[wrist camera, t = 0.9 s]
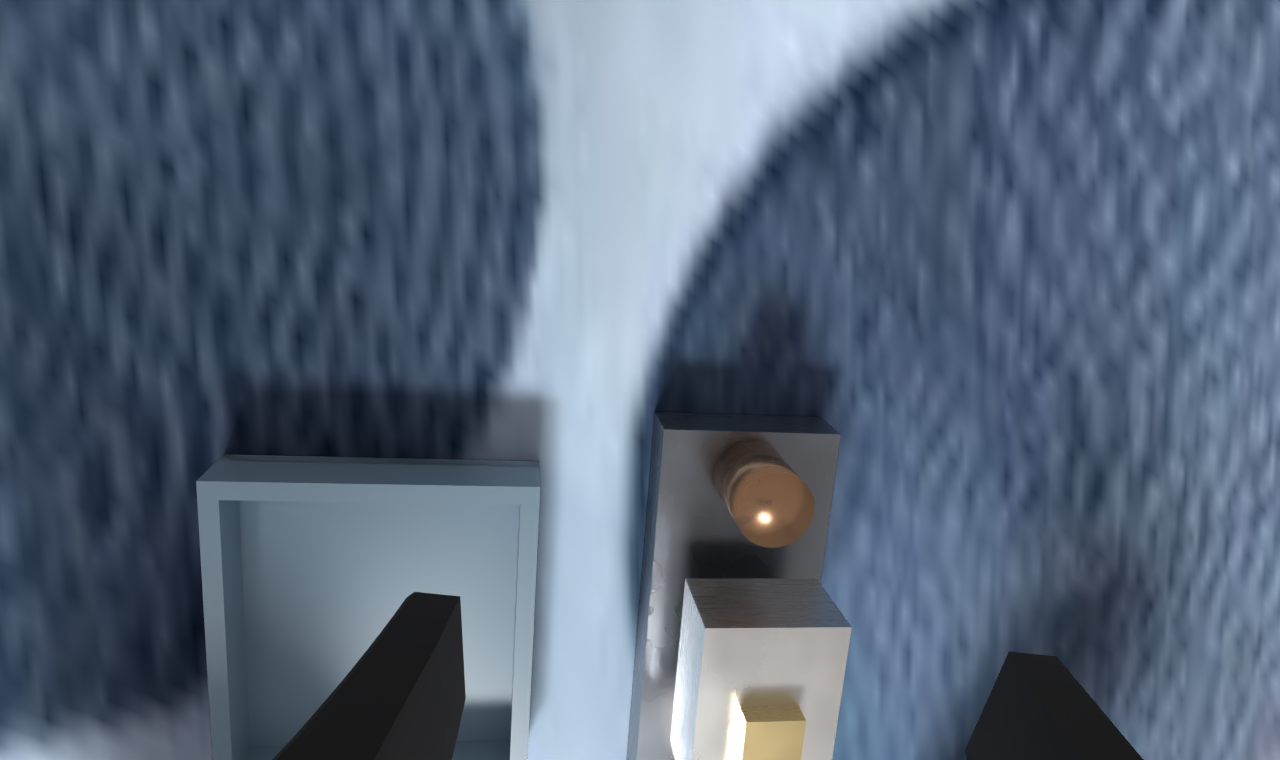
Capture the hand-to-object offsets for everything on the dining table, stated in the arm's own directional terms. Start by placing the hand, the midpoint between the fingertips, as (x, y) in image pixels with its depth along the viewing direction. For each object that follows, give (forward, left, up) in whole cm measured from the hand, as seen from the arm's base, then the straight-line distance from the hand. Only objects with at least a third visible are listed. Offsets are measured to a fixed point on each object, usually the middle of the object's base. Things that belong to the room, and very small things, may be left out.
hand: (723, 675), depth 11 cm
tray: (-9, +7, -18) cm, 21 cm away
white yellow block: (-9, -5, -14) cm, 18 cm away
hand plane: (-9, -5, -18) cm, 21 cm away
